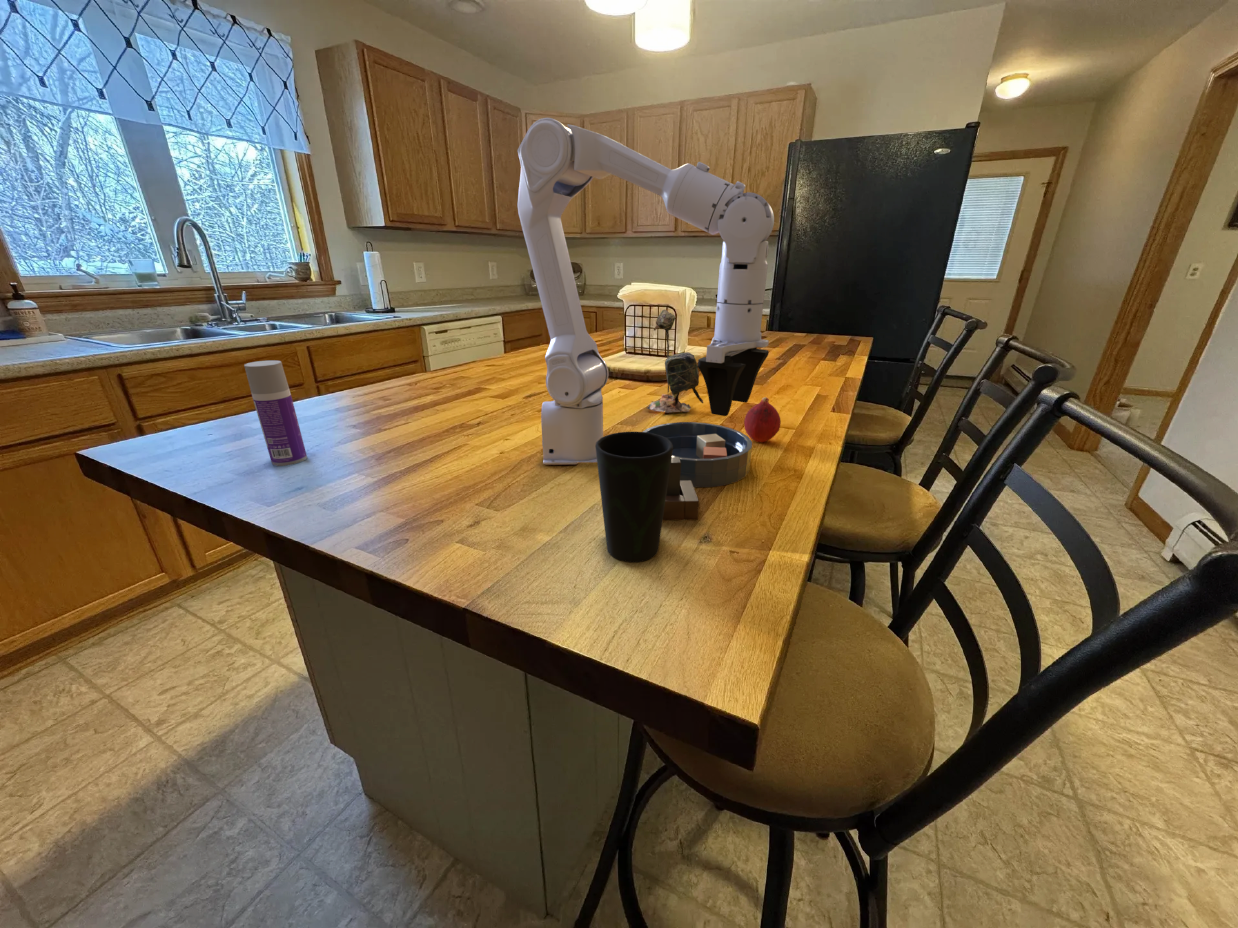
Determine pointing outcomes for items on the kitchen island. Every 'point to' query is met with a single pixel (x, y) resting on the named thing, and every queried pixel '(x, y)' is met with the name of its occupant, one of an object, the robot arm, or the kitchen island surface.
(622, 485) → the cup
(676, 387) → the plant with pod
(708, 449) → the terracotta block
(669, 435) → the bowl
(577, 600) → the kitchen island surface
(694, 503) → the holder
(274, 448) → the container
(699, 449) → the cream block
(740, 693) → the kitchen island surface
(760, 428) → the onion
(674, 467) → the long dark block
